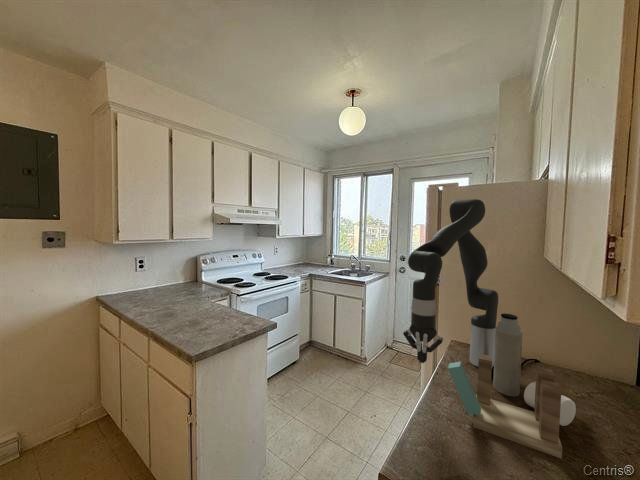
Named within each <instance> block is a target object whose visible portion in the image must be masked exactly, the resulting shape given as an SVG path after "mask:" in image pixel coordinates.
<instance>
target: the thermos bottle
mask: <svg viewBox="0 0 640 480" xmlns="http://www.w3.org/2000/svg"><path fill="white" fill-rule="evenodd" d="M500 316H501V318H500V320H499V321H498V322H497V326H496V332H495V354H494V368H493V376H492V377H493V381H492V387H493V389H494V390H495V391H496V392H498V393H500V394H503V395H505V396H507V397H518V396H519V395H520V389H521V372H522V371H521V369H522V367H521V366H522V365H521V364H522V351H523V350H522V347H523V332H522V331H521V329H522V328H521V325H520V324H518V316H517V315H515V314H511V313H503V312H502V313H501V314H500Z"/></svg>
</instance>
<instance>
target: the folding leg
mask: <svg viewBox="0 0 640 480" xmlns="http://www.w3.org/2000/svg"><path fill="white" fill-rule="evenodd" d="M447 370H448V371H449V374H450V377H451V378H452V382H453V383H454V385H455V386H454V387H456V390H457V392H458V395H459V397H460V400H461V403H462V404H463V407H464V409H465V414H466V415H467V416H470V415H473V414H481V406H480V404H479V402H478V399H477V397H476V395H477V394H476V393H475V391H474V388H473V386H472V383H471V381H470V379H469V377H468V375H467V373H466V370H465V368H464V366H463V363H462V361H456V362H449V364H448V366H447ZM475 394H476V395H475Z"/></svg>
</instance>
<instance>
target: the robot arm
mask: <svg viewBox="0 0 640 480" xmlns="http://www.w3.org/2000/svg"><path fill="white" fill-rule="evenodd" d="M448 212H449V217H450V222H451V223H450V224H448V225H445V226H444V227H441V229H439V230H438V231H437V232H435V234H434V235H433V236H432V237H431V238H430V239H429V240H428V241H427V242H426V243H425V242H424V243H423V244H422V245H420V246H419V247H417V248H415V249H414V250H413V251H412V252H411V253H410V255H409V257H408V261H407V265H408V266H409V269H410V270H412V271H414V272H416V273H423V274H424V277H423V278H418V279H416V280H415V279H414V281H413V282H412V283H413V284H412V300H411V306H410V310H411V315H410V317H411V318H410V319H411V321H410V326H409V328H407V329H405V330H404V331H403V332H402V334H403V336H404V337H405V339H406V340H407V343H408V344H409V345H410V347H411V348H412V349H416V352H417V355H416V356H417V357H416V358H417V361H418V362H419V363H422V364H425V363H426V362H427V359H428V353H430V354H431V353H433V351H434V350H436V349H437V348H438V347H439V346H440V345H441V344H442V343H443V341H444V338H443V336H442V337H441V336H439V335H438V334H437V330H436V316H437V313H436V311H437V305H436V289H437V288H436V287H437V283H438V281H439V277H440V274H441V271H442V268H443V259H442V258H443V257H444V256H446V254H447V253H448V252H449V251H450V250H451V249H452V247H453V246H454V245H455V244H456V243H457V245H458V249H459V255H460V261H461V266H462V269H463V273H464V279H465V285H466V298H467V302H468V305H469V306H470V307H471V308H473V309H478V310H481V311H485V313H484V314H481V315H480V314H477V315H473V316H472V317H471V318H470V339H469V341H470V343H469V362H470V364H472V365H473V366H475V367H478V362H479V354H483V355H487V356H491V357H492V369H494V368H493V367H494V354H495V332H496V327H497V326H496V325H497V318H498V307H499V293H498V292H497V291H496V290H494V289H488V288H483V287H479V286H478V281H479V279H480V278H481V276H482V275H483V274H484V272H485V271H486V269H487V268H488V265H489V264H488V257H487V252H486V248H485V246H484V245H483V244H482V243H481V242H480V241H479V240H478V239H477V237H476V236H475V235H474V234H473V232H471V230H472V229H473V228H475V227H476V226H478V224H480V223H481V222H482V220H483V219H484V217H485V213H486V205H485V203H484V201H483V200H482V199H478V198H474V199H473V198H471V199H468V198H467V199H466V198H465V199H455V200H453V201H452V202H451V203H450V206H449V211H448ZM432 340H434V342H433V343H432V344H430V346H429V343H431V341H432Z"/></svg>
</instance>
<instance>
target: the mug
mask: <svg viewBox="0 0 640 480" xmlns="http://www.w3.org/2000/svg"><path fill="white" fill-rule="evenodd" d="M535 387H536V381H532V382H530V383H529V384H528V385H527V386H526V387H525V390H524V392H523V398H524V402H525V403H526V404H527V405H528V406H530V407H531V408H533V409H534V406H535ZM576 405H577V404H576V403H575V402H574V401H573V400H572V399H571V398H569V397H568V396H565V395H562V394H561V406H560V423H559V426H562V427H564V426H568V425H570V424H571V423H572V422H573V420H574V418H575V417H576V412H577V411H576V410H577V409H576V407H577V406H576Z"/></svg>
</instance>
